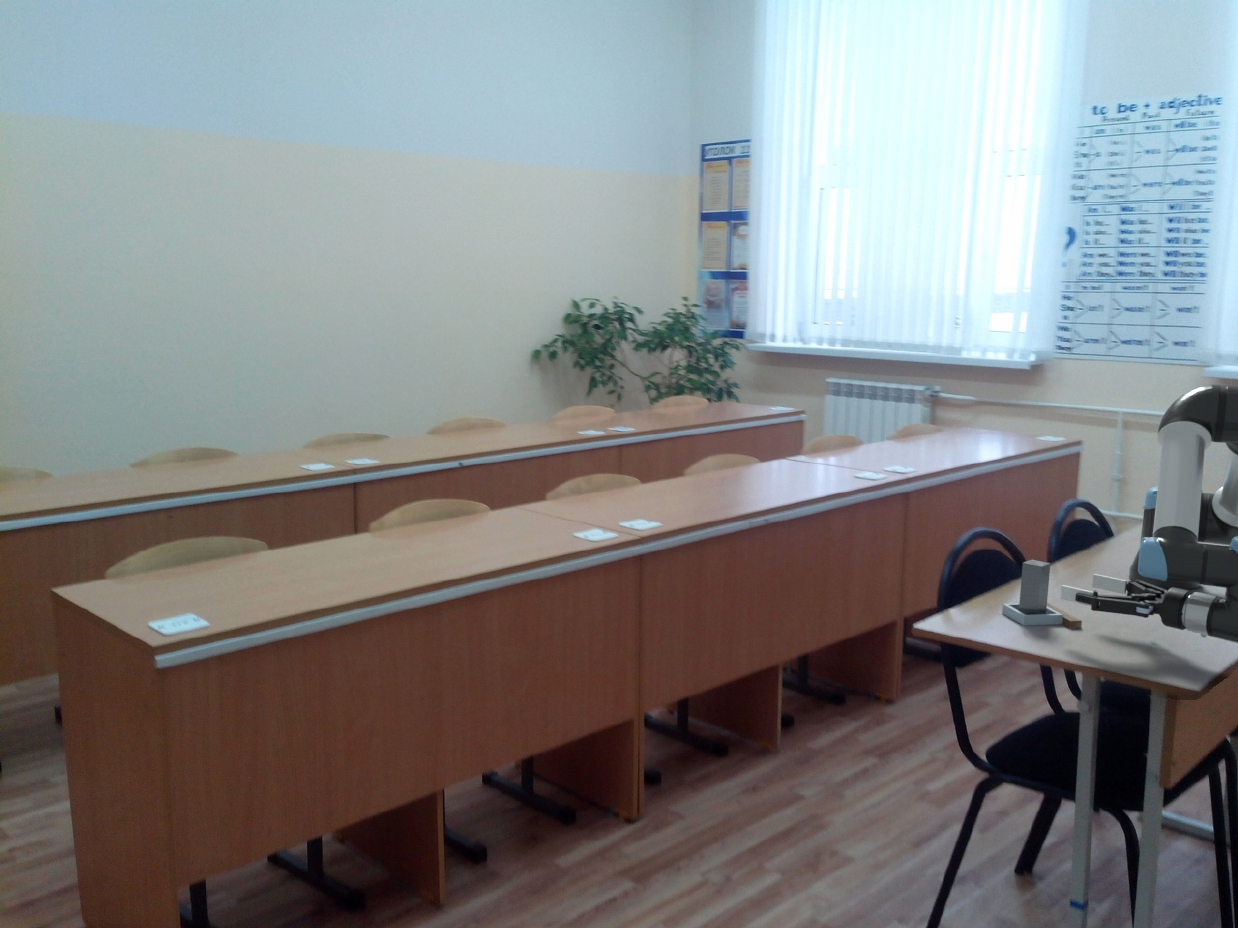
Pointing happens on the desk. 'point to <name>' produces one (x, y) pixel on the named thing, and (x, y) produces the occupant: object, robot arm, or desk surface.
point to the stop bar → (1034, 587)
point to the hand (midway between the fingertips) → (1077, 585)
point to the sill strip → (1067, 618)
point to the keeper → (1032, 616)
